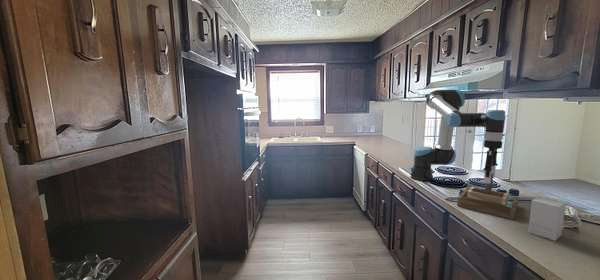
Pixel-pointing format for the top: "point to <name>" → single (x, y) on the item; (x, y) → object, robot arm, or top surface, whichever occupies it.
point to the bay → (488, 206)
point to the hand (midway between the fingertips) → (489, 180)
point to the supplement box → (547, 217)
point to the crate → (488, 194)
